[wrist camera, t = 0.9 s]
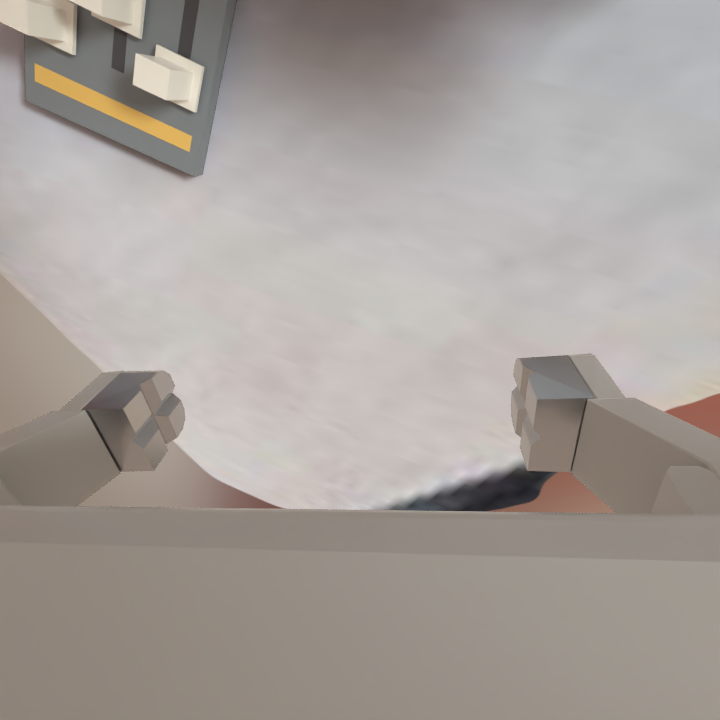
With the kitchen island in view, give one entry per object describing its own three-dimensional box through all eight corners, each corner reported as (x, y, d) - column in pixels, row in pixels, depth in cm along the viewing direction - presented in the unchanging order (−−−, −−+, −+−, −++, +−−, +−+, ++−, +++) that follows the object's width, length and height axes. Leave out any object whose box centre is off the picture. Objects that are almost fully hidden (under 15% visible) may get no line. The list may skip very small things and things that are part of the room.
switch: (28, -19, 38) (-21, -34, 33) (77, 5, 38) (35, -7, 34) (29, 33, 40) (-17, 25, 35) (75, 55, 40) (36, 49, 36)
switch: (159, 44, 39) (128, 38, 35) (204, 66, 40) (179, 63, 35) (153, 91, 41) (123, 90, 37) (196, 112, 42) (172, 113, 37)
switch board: (37, -238, 32) (16, -257, 31) (259, -116, 35) (250, -127, 33) (40, 100, 45) (25, 100, 43) (202, 174, 47) (194, 176, 45)
